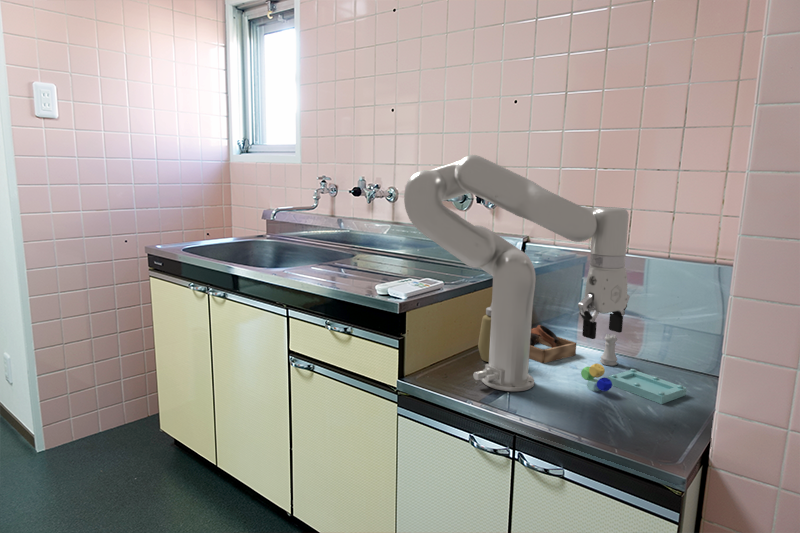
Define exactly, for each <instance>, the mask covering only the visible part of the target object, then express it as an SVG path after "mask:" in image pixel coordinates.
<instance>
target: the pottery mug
mask: <svg viewBox="0 0 800 533" xmlns="http://www.w3.org/2000/svg"><path fill="white" fill-rule="evenodd" d="M539 336H541V339H543V340H544V341H546V342H548V343H549V344H551V345H552V347H551V348H553V347H557V342H558V341H559V339H558V337H559V336H558V335H556V333H554V332H553V331H552V330H551V329H549V328H547V327H546V326H544V325H541V324H538V325H537V326H536V327H533V328H532V327H531V338H530V345H532V346H534V347H535V346H536V345H537V343H538V340H539Z"/></svg>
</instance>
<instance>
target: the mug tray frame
mask: <svg viewBox="0 0 800 533" xmlns="http://www.w3.org/2000/svg"><path fill="white" fill-rule="evenodd" d="M557 337H558V339H559V341H558V342H557V347H553V348H552V345H551V344H549V343H548V342H546V341H544V340H543V339H541V336H539V340H538V342H537V343H538V344H540V345H541V344H542V345H544V346H547V347H549V348H545V349H542V348H540V347H537V346H535V345H534V346H532V345H530V353H529V360H532V361H535V362H538V363H540V364H543V363H544V364H547V363H550V362H554V361H555V362H556V361H558V360H562V359H565V358H570V357H574V356H576V353H577V342H574V341H572V340H569V339H566V338H563V337H560V336H557Z"/></svg>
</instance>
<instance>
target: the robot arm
mask: <svg viewBox="0 0 800 533" xmlns="http://www.w3.org/2000/svg"><path fill="white" fill-rule="evenodd" d="M467 194H471V195H474V196H476V197H478V198H480V199H482V200H484V201H487V202H488V203H490V204H492V205H495V206H497V207H499V208H501V209H503V210H505V211H507V212H509V213H511V214H512V215H515V216H516V217H520V218H522V219H525V220H528V221H530V222H532V223H534V224H536V225H538V226H540V227H543V228H545V229H546V230H549V231H550V232H552V233H555V234H557V235H558V236H561V237H563V238H565V239H567V240H569V241H571V242H575V243H580V242H585V241H587V240H589V239H590V238H591V242H590V257H589V269H588V273H587V278H586V283H585V290H584V291H585V292H584V298H583V299H582V300H580V301H579V302H578V304H577V307H578V310H579V315H580V317H581V320H582V336H583V337H584V338H587V339H591V340H595V339H596V338H597V337H596V336H597V321H596V319H597V317H598V316H599V314H601V315H602V314H609V322H608V330H609V331H611V332H615V333H619V334H620V333H622V332H623V324H624V323H623V322H624V316H625V314H626V309H627V307H628V303H629V300H630V294H628V274H627V267H626V260H627V258H626V257H627V256H626V254H627V243H628V231H629V230H628V229H629V212H628V210H627V209H626V208H623V207H604V206H603V207H602V206H601V207H598V208H597V207H596V208H595V207H587V206H586V207H585V206H581V205H579V204H577V203H575V202H573V201H571V200H568V199H567V198H564V197H562V196H560V195H558V194H557V193H554V192H552V191H549V190H548V189H546V188H544V187H542V186H541V185H539V184H537V183H536V182H534V181H533V180H531V179H529V178H527V177H525V176H523V175H520V174H518V173H516V172H514V171H512V170H510V169H508V168H506V167H504V166H501V165H499V164H498V163H495V162H493V161H491V160H489V159H486V157H485V158H484V157H483V156H480V155H476V154H469V155H466V156H464V157H462V158H461V159H460V160H457V161H455V162H452V163H449V164H445V165H443V166H438V167H436V168H433V169H429V170H420V171H419V170H418V171H417V172H414V173H413V174H412V175H411V176H410V177H409V179H408V181H407V182H406V184H405V188H404V195H403V201H404V203H403V204H404V210H405V212H406V214H407V217H408V219H409V221H410V222H411V224H412V225H413V226H414V227H415V229H416V230H418V231H419V232H420V233H421V234H422V235H424V236H425V237H427V238H429V240H431V241H432V242H434V243H435V244H437V245H438V246H439V247H440V248H442V249H444V250H445V251H446V252H448V254H450V255H452V256H453V257H455V258H456V259H458V260H459V261H460V262H462V263H463V264H465V265H466V266H467V267H471V268H475V269H476V268H477V269H478V268H480V269H481V270H483V272H485V273H487V274H489V275H490V276H491V277H492V290H491V291H492V292H491V294H492V295H491V303H492V309H491V331H490V350H489V362H488V363H485V366H484V368H483V369H482V370H478V371H474V372H473V375H472V376H473V379H474V380H475V381H479V380H480V381H481V382H482V383H483V384H484V385H486V386H487V387H490V388H492V389H495V390H498V391H503V392H504V391H505V392H515V393H516V392H523V391H527V390H531V389H532V388H533V387H534V386H535V378H534V377H533V376H532V375H530V374H529V364H530V358H529V353H530V338H531V329H532V320H533V307H534V296H535V289H536V281H537V280H536V277H537V276H536V269H535V267H534V264H533V262H532V260H531V258H530V257H529V256H528V255H527V253H525V252H524V251H523V250H521V249H520V248H518V247H517V246H515V245H514V244H512V243H510V241H508V240H506V239H504V237H502V236H500V235H499V234H497V233H496V232H494V231H493V230H491V229H489V228H487V227H486V226H482V225H474V224H472V223H471V222H469V221H467V220H466V219H464V218H463V217H461V216H460V215H459V214H457V213H456V212H454V211H452V210H451V209H450V208H448V207H446V206H445V204H444V203H443V202H445V201H448V200H451V199H455V198H458V197H462V196H464V195H467ZM591 313H592V314H591Z"/></svg>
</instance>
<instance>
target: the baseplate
mask: <svg viewBox="0 0 800 533" xmlns="http://www.w3.org/2000/svg"><path fill="white" fill-rule="evenodd" d="M607 378H608V379H610V380H611V382H612V387H614V388H615V387H616V388H618V389H620V390H623V391H626V392H628V393H631V394H634V395H636V396H639V397H641V398H645V399H647V400H650V401H652V402H654V403H656V404H660V405H663V404H667V403H668V402H672V401H673V400H677V399H680V398H682V397H685V396H686V395H687V387H685V386H684V385H682V384H676V383H673V382H671V381H668V380H665V379H661V378H659V377H658V376H653V375H650V374H647V373H644V372H642V371H638V370H637V369H635V368H630V369H629V370H626V371H622V372H619V373H614V374H611V375H609V376H607Z"/></svg>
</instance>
